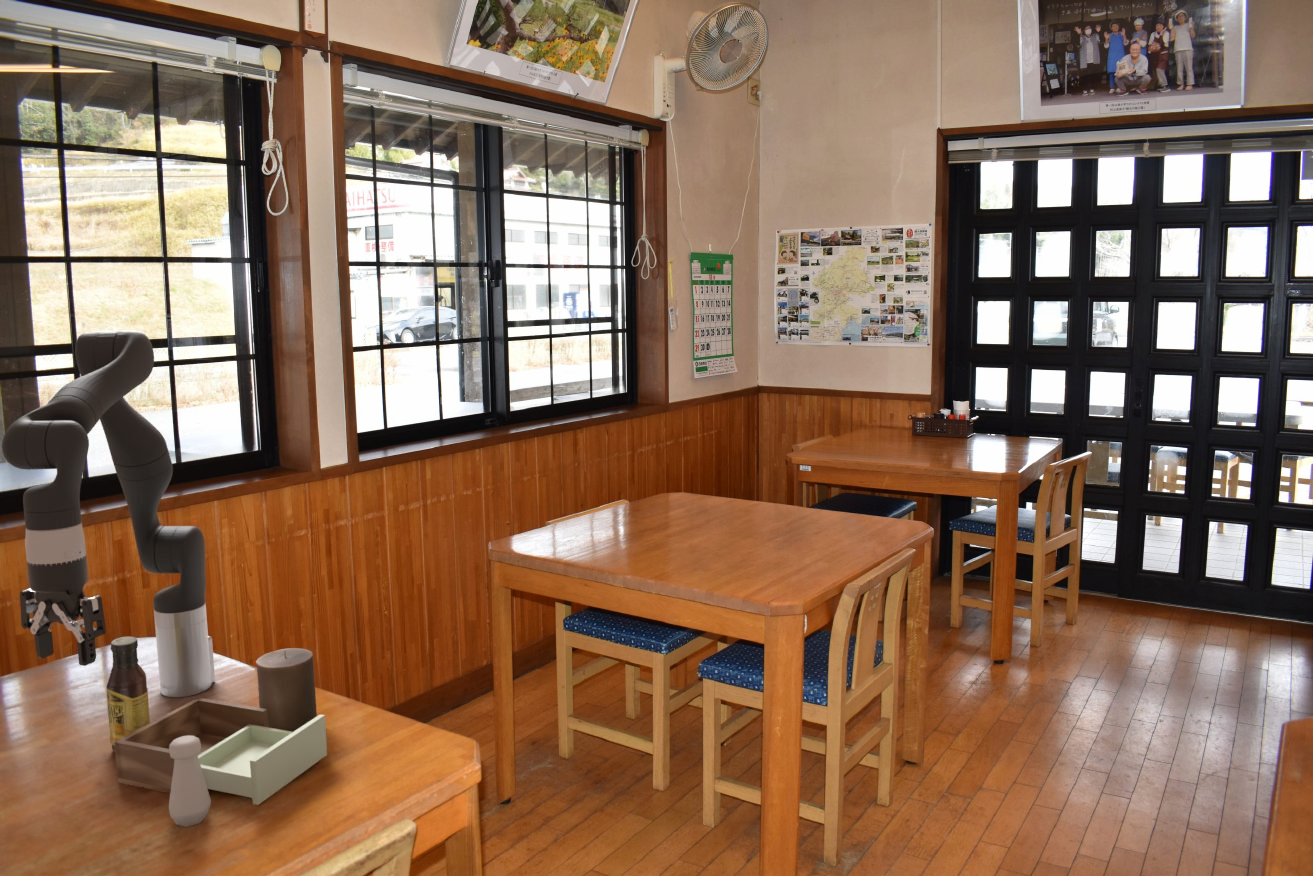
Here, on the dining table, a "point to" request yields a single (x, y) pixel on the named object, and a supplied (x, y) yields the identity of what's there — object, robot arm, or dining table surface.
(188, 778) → the salt shaker
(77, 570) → the robot arm
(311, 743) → the drawer
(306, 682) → the pillar candle
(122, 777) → the cabinet
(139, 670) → the sauce bottle
